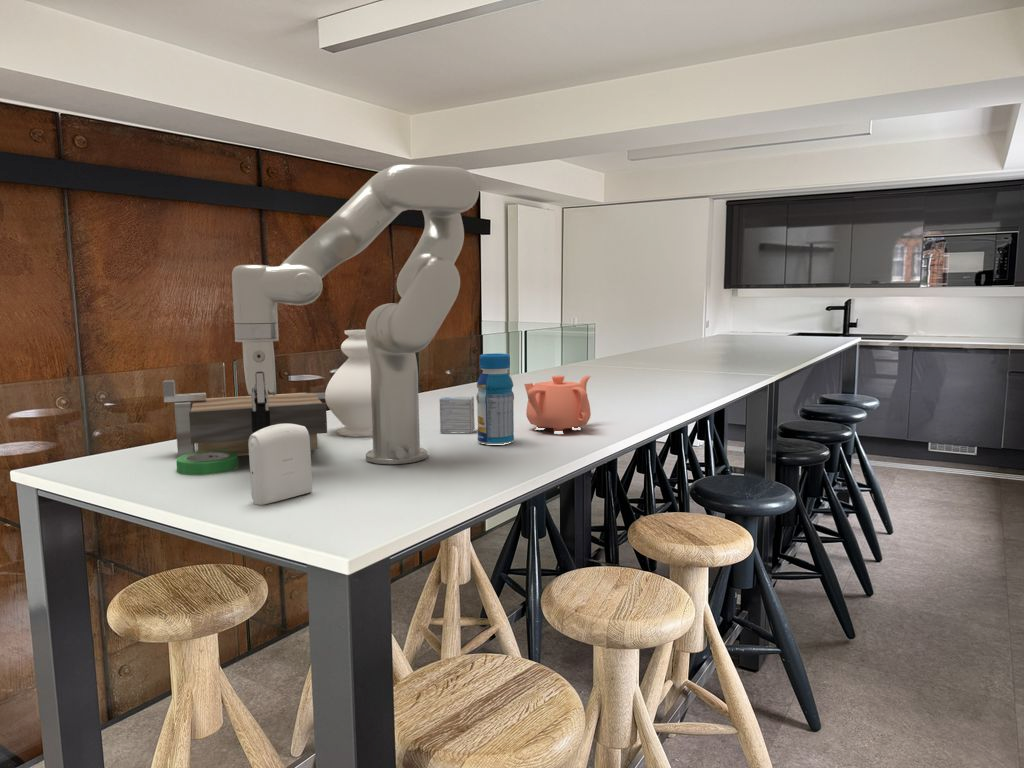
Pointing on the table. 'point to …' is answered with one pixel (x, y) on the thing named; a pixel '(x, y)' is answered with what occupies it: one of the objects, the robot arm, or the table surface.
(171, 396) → the brushed metal corner piece
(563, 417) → the teapot
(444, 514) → the table surface
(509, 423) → the beverage bottle
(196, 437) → the lid
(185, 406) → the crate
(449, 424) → the medicine box
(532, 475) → the table surface
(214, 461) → the tape roll
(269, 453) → the photo printer
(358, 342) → the decorative vase
